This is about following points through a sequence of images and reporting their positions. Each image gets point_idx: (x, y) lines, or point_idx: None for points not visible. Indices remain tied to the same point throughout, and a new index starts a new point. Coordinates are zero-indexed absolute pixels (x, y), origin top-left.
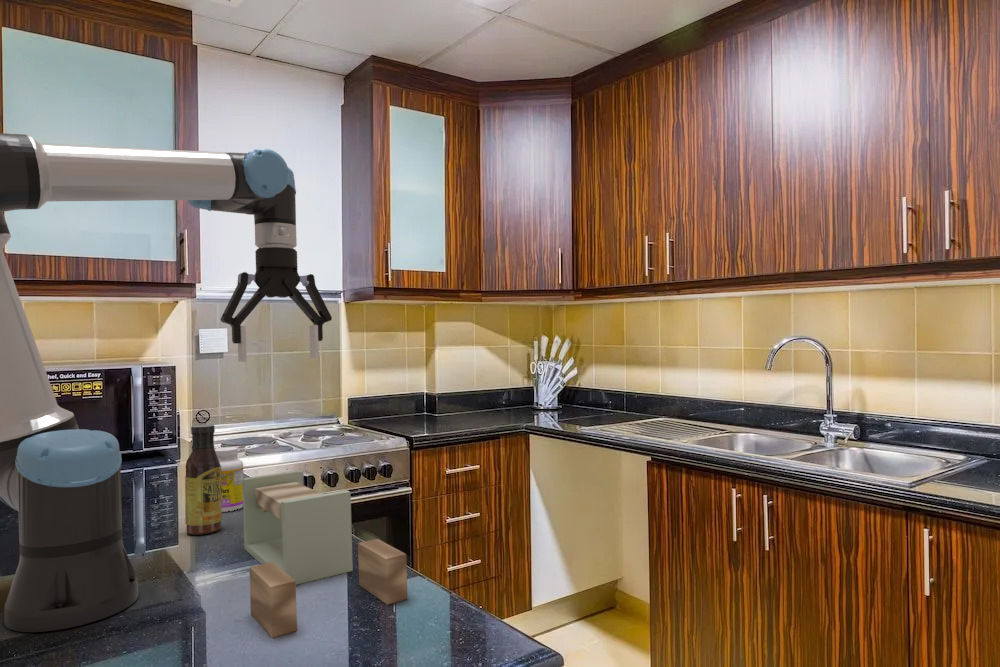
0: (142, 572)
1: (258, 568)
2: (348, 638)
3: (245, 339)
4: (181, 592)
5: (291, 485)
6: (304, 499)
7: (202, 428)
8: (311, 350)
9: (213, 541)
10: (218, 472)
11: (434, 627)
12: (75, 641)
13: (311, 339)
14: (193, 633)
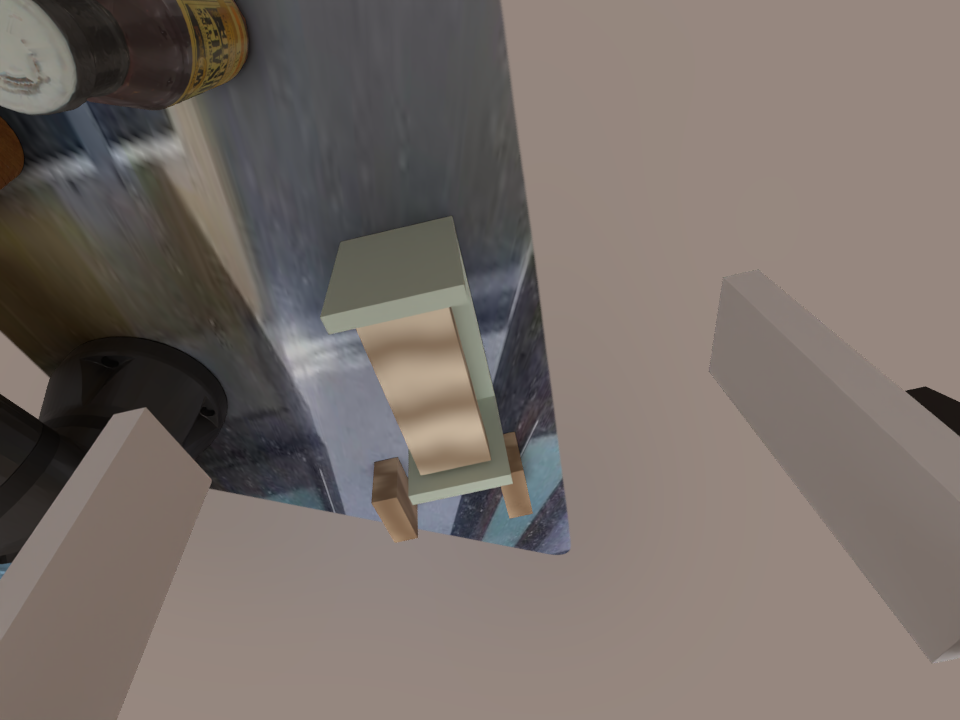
0: (178, 293)
1: (381, 508)
2: (455, 515)
3: (138, 653)
4: (279, 390)
5: (434, 336)
6: (441, 498)
7: (41, 114)
8: (757, 352)
9: (260, 150)
10: (196, 77)
11: (522, 517)
12: (206, 466)
13: (830, 438)
14: (324, 480)
